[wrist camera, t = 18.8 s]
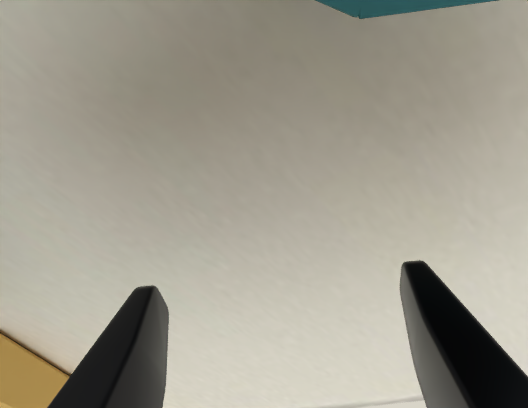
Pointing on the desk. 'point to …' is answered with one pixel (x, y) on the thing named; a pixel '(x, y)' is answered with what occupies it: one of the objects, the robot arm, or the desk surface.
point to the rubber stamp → (26, 377)
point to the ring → (391, 6)
